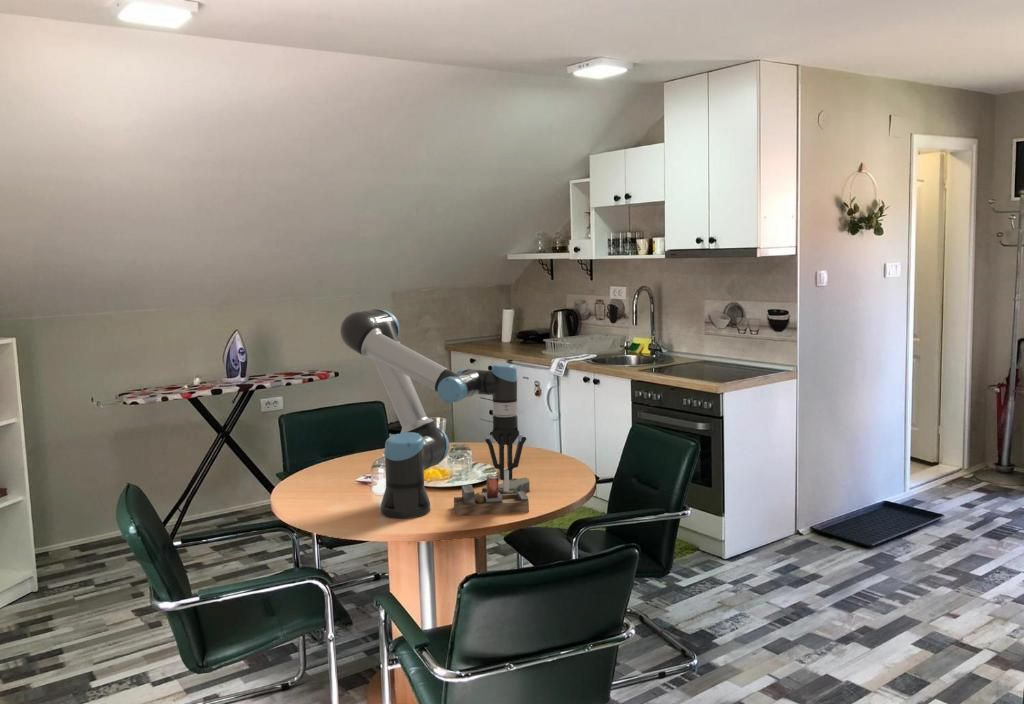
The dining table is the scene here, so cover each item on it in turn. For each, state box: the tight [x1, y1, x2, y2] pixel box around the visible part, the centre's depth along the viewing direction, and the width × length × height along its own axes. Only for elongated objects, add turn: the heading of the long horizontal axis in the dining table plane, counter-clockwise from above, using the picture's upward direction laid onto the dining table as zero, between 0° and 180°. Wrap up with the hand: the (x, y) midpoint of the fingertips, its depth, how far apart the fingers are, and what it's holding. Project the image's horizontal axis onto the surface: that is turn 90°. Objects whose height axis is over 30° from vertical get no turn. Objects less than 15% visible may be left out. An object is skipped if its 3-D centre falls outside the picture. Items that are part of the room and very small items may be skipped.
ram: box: [482, 473, 502, 503], centre depth 258 cm, size 5×7×8 cm
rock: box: [481, 477, 530, 495], centre depth 276 cm, size 12×16×5 cm
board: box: [453, 484, 530, 517], centre depth 259 cm, size 22×10×7 cm, turn 99°
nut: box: [475, 491, 485, 504], centre depth 258 cm, size 4×4×4 cm
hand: (506, 489), depth 259 cm, fingers closed
